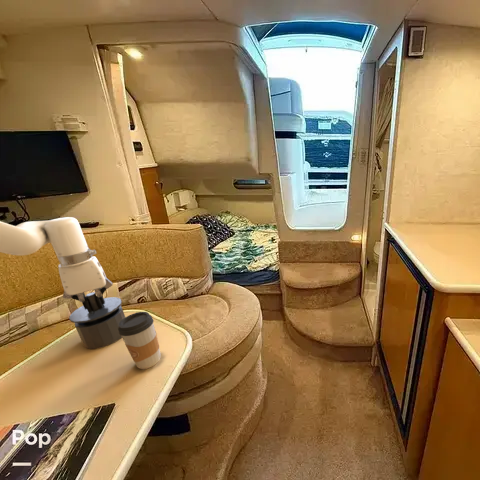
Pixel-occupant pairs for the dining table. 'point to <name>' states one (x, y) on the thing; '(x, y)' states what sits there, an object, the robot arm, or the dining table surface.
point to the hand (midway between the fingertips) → (96, 307)
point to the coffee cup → (140, 339)
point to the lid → (95, 309)
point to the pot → (101, 330)
